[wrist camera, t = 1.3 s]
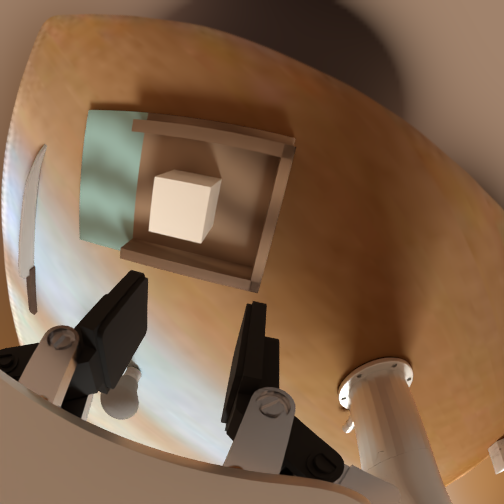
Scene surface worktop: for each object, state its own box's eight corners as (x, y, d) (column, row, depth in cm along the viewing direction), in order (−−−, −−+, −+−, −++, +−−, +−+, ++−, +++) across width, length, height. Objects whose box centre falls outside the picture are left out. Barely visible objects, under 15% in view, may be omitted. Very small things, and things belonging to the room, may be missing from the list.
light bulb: (131, 382, 42) (110, 425, 33) (113, 358, 40) (86, 401, 31) (158, 381, 41) (138, 428, 32) (139, 355, 39) (114, 402, 29)
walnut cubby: (258, 280, 32) (256, 299, 28) (84, 236, 32) (66, 248, 28) (294, 138, 26) (298, 138, 22) (93, 110, 25) (73, 109, 22)
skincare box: (505, 437, 54) (515, 461, 40) (496, 445, 56) (505, 469, 42) (495, 441, 54) (506, 467, 40) (486, 449, 56) (495, 475, 42)
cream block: (212, 226, 29) (201, 243, 24) (167, 216, 29) (148, 231, 24) (221, 178, 27) (210, 187, 22) (174, 169, 27) (154, 176, 22)
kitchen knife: (27, 321, 35) (28, 146, 23) (23, 318, 35) (23, 144, 23) (40, 308, 39) (50, 142, 27) (36, 305, 39) (45, 140, 27)
